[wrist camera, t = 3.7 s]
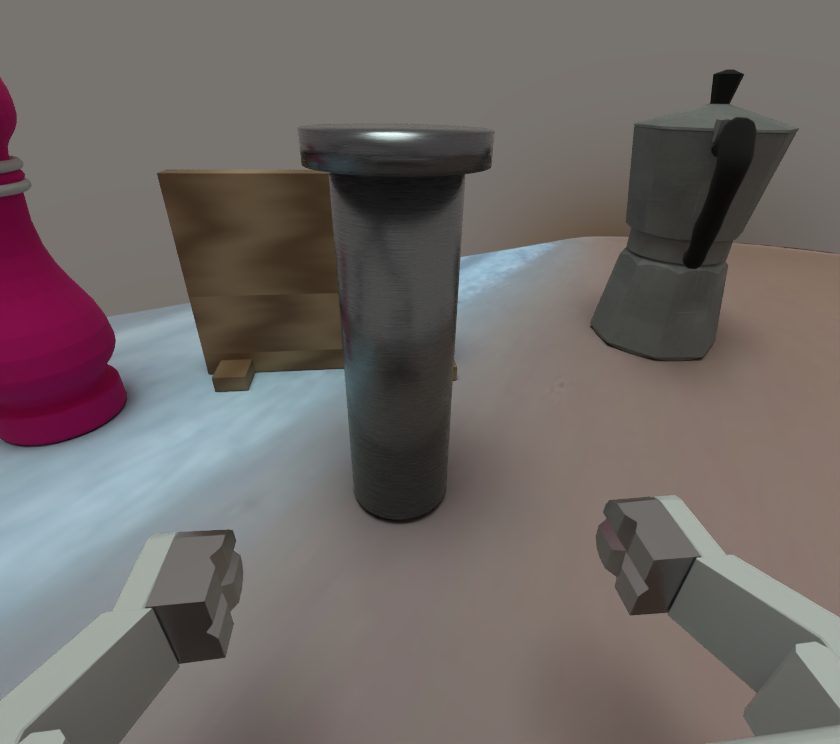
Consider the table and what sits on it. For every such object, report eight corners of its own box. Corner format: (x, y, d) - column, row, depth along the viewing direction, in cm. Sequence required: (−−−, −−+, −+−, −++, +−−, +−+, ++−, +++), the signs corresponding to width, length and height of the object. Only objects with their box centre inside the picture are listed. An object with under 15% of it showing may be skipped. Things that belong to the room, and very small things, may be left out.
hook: (333, 540, 19) (284, 133, 11) (345, 331, 36) (328, 113, 28) (475, 528, 20) (519, 135, 12) (420, 328, 37) (424, 114, 29)
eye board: (198, 392, 29) (139, 179, 22) (222, 348, 34) (180, 164, 27) (456, 380, 31) (469, 179, 24) (441, 339, 36) (450, 165, 29)
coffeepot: (590, 298, 44) (640, 75, 34) (700, 313, 41) (785, 75, 32) (584, 377, 31) (659, 58, 22) (741, 405, 29) (901, 57, 19)
